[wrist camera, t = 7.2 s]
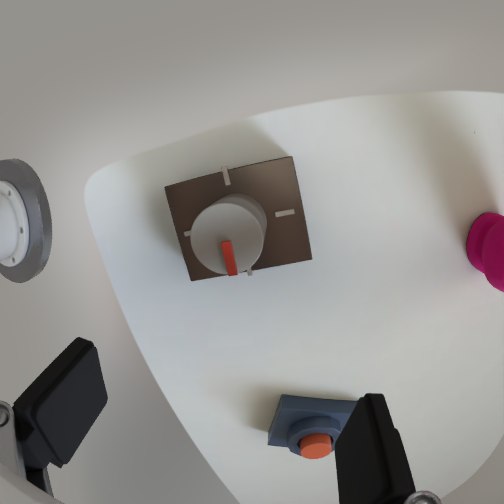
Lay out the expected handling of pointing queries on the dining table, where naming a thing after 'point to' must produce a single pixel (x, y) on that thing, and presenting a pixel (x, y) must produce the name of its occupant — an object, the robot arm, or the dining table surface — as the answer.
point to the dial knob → (229, 234)
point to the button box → (308, 420)
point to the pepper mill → (488, 247)
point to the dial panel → (265, 193)
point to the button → (315, 446)
